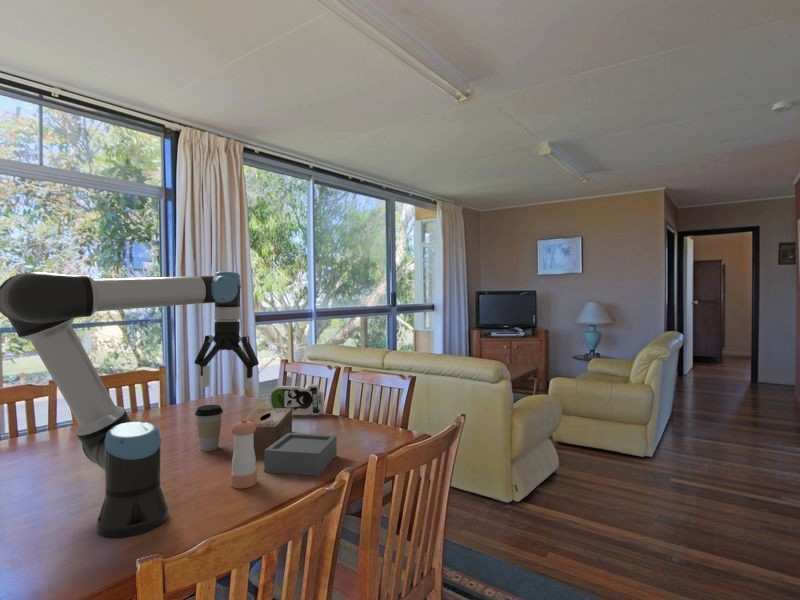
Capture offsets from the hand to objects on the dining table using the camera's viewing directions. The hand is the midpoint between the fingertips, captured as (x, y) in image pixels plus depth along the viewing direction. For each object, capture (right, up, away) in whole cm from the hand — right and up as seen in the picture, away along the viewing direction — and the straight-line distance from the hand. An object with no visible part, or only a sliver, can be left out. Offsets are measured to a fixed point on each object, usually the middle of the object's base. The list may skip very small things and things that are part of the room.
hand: (226, 387), depth 144 cm
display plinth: (+23, -27, +7) cm, 36 cm away
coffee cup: (-14, -27, +21) cm, 37 cm away
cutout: (+7, -26, +67) cm, 72 cm away
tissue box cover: (+4, -27, +28) cm, 39 cm away
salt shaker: (+9, -27, -9) cm, 30 cm away
